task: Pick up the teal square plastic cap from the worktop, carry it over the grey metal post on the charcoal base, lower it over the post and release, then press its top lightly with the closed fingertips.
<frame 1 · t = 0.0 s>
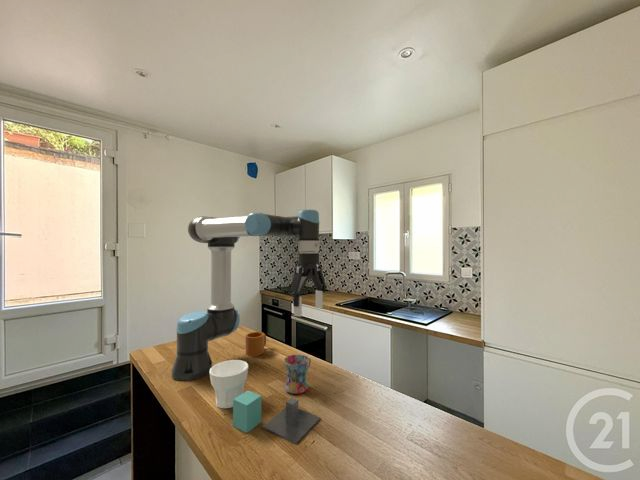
hand: (309, 311, 96), 28 cm above the counter, fingers open, 13 cm apart
mug: (299, 388, 97), on the counter
mug 2: (257, 352, 130), on the counter
cup: (229, 401, 89), on the counter
cap: (247, 424, 77), on the counter
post: (292, 423, 77), on the counter
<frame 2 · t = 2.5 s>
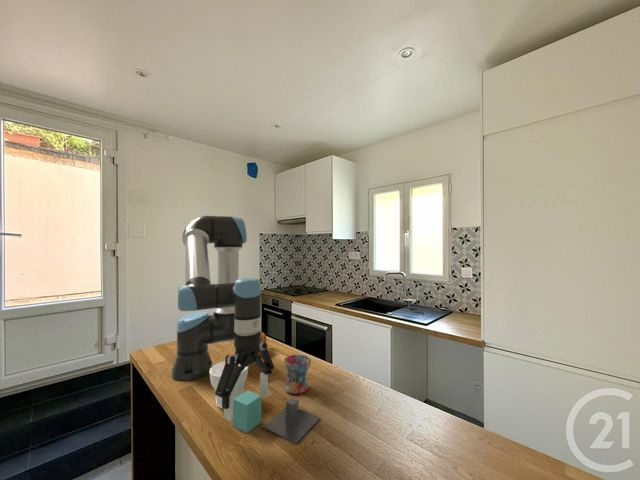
hand: (247, 406, 77), 5 cm above the counter, fingers open, 13 cm apart
nothing on the counter moved.
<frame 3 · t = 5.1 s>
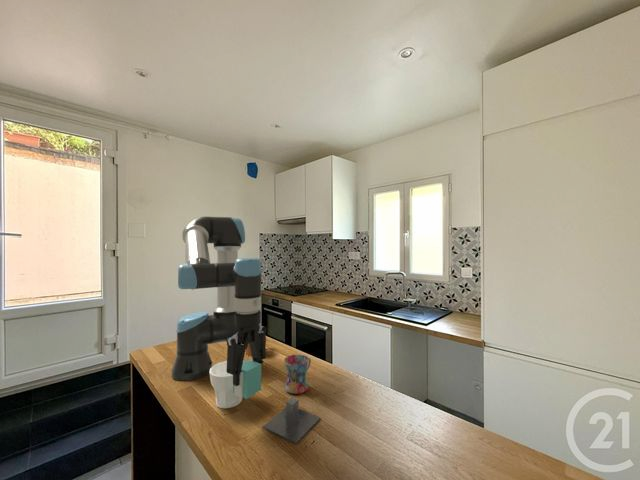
hand: (247, 390, 78), 9 cm above the counter, fingers closed on cap, 6 cm apart
cap: (247, 391, 78), point 9 cm above the counter, touching gripper
everything else where it was.
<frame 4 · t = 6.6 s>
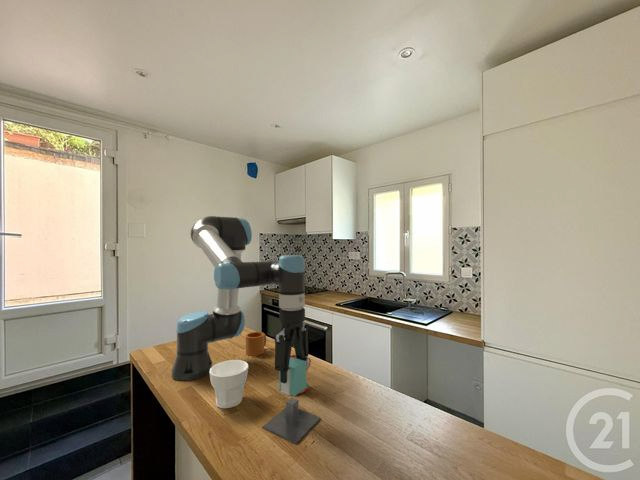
hand: (292, 387, 78), 10 cm above the counter, fingers closed on cap, 6 cm apart
cap: (292, 388, 77), point 10 cm above the counter, touching gripper
everything else where it was.
when the fingers open (1 cm above the counter, at t = 8.4 s): cap stays where it is, resting on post.
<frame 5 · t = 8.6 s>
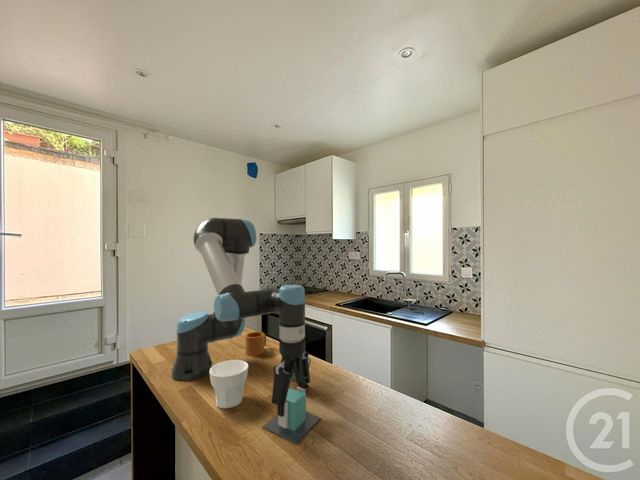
hand: (292, 417, 77), 2 cm above the counter, fingers open, 8 cm apart
cap: (292, 421, 77), resting on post
everything else where it was.
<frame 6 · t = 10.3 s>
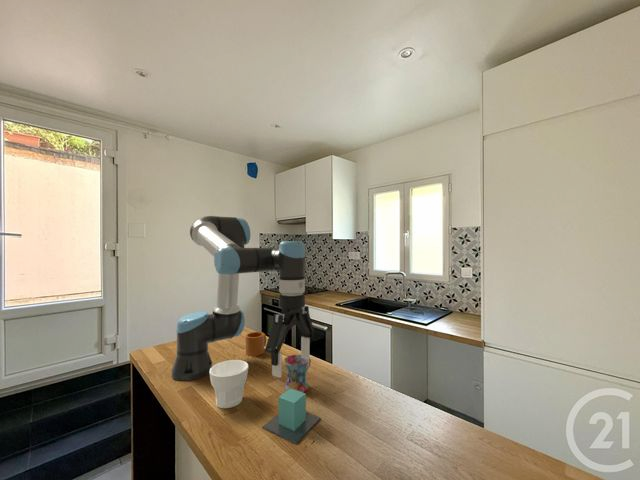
hand: (292, 366, 78), 16 cm above the counter, fingers open, 13 cm apart
nothing on the counter moved.
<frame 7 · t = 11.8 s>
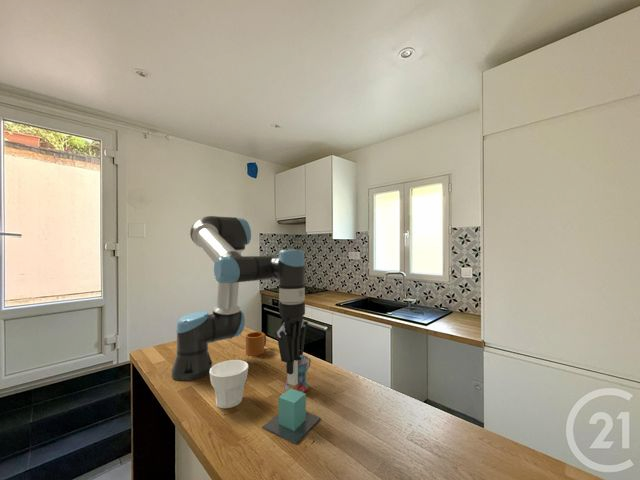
hand: (292, 383, 78), 12 cm above the counter, fingers closed
nothing on the counter moved.
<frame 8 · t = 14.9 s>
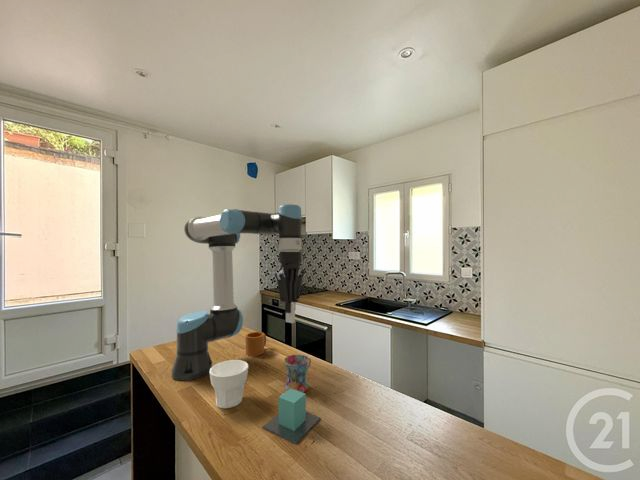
hand: (290, 321, 89), 26 cm above the counter, fingers closed
nothing on the counter moved.
at the end: cap 0.0 cm from the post (horizontally); cap point 0.5 cm above the counter; the gripper is holding nothing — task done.
